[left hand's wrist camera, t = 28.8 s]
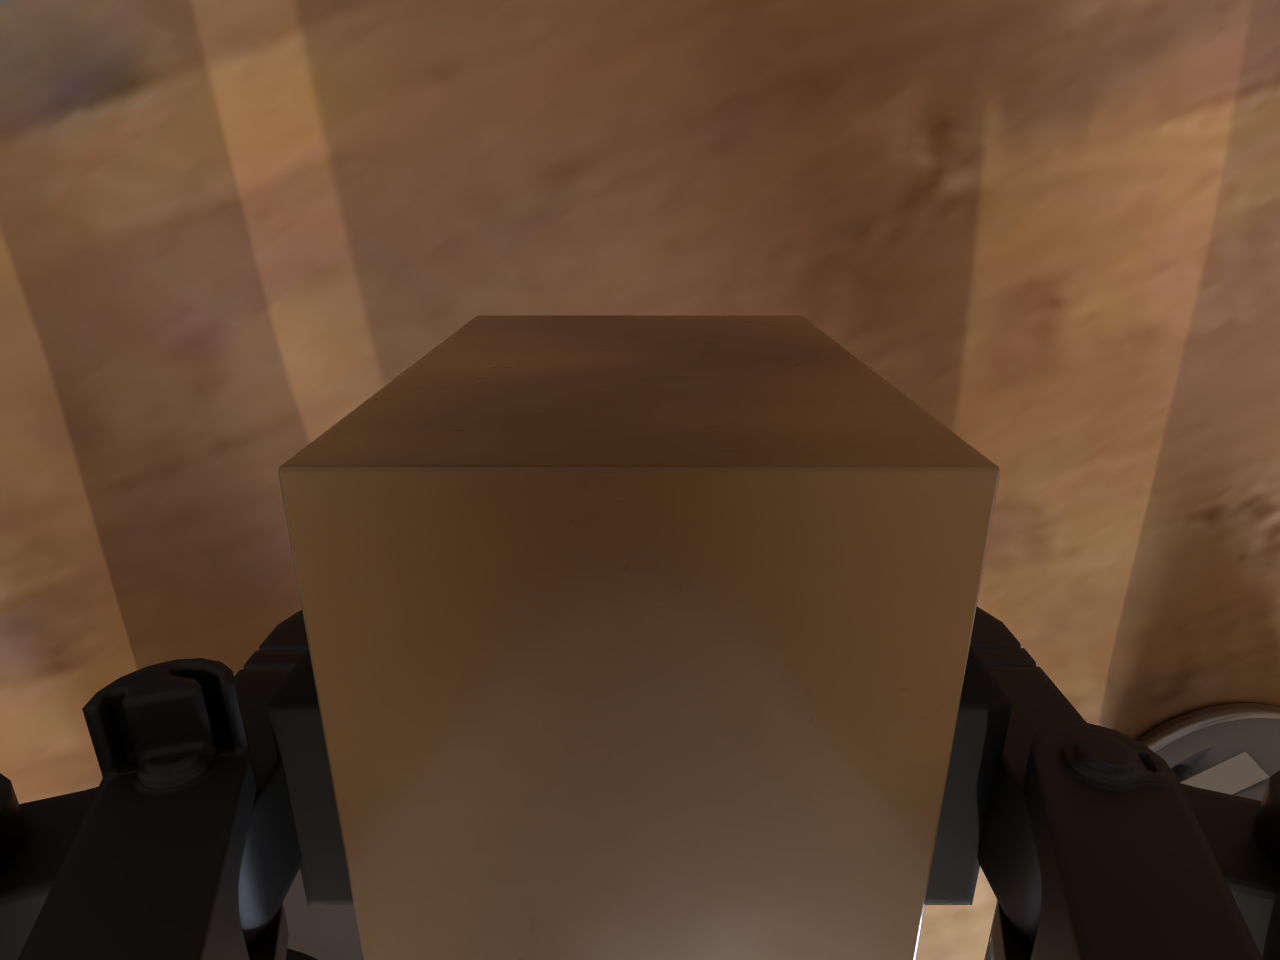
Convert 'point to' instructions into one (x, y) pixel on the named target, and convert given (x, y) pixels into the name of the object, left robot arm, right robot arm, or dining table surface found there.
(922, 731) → the brick
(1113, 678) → the dining table surface
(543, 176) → the dining table surface
